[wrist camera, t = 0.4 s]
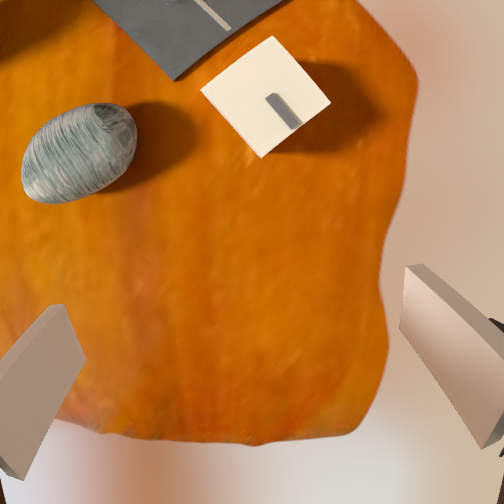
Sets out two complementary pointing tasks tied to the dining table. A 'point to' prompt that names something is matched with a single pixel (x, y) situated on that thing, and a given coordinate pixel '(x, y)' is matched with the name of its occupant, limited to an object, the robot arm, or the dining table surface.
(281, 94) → the white drawer box
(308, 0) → the dining table surface
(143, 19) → the gray board
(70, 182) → the spool
